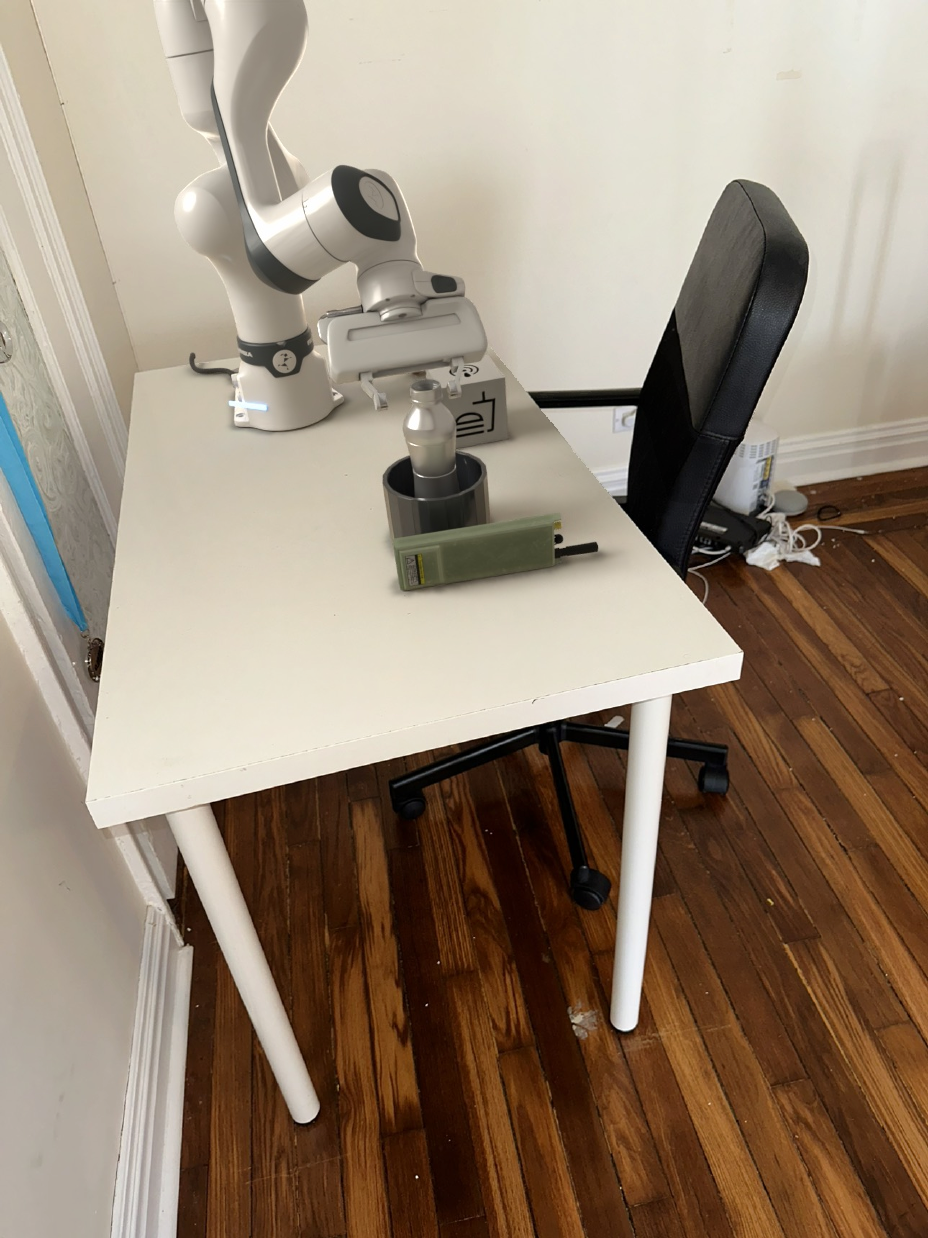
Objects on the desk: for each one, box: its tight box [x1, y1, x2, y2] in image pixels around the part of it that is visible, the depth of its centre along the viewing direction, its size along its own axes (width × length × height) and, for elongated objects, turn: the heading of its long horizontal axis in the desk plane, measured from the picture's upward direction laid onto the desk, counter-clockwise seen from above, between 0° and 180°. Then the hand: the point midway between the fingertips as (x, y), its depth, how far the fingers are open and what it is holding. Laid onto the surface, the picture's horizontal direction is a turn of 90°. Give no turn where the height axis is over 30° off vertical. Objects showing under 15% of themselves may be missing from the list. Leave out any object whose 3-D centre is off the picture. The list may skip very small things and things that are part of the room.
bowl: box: [381, 449, 492, 545], centre depth 118 cm, size 13×13×9 cm
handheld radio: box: [392, 512, 599, 591], centre depth 111 cm, size 7×3×25 cm
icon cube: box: [425, 353, 509, 450], centre depth 142 cm, size 10×10×10 cm
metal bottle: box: [402, 378, 460, 499], centre depth 115 cm, size 6×7×20 cm
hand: (419, 402), depth 115 cm, fingers open, 8 cm apart
